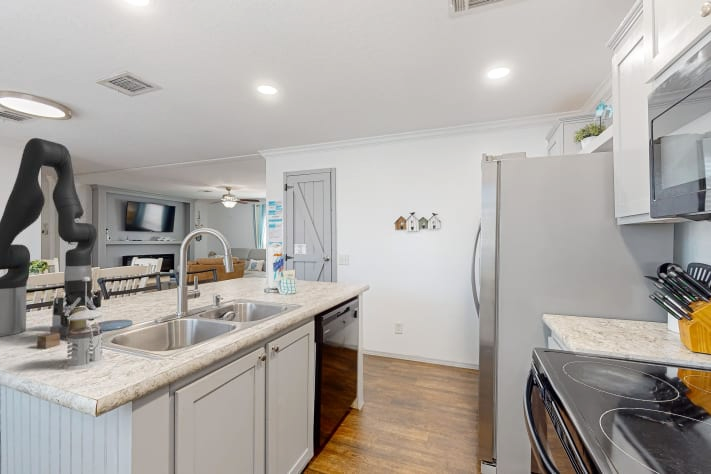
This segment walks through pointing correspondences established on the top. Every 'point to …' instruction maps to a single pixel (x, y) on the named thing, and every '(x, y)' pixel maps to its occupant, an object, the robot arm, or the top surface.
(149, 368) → the top surface
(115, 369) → the top surface
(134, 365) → the top surface
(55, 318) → the skincare box
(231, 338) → the top surface
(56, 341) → the walnut block
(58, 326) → the graphite block
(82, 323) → the cork
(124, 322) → the slate plate
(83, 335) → the french press
